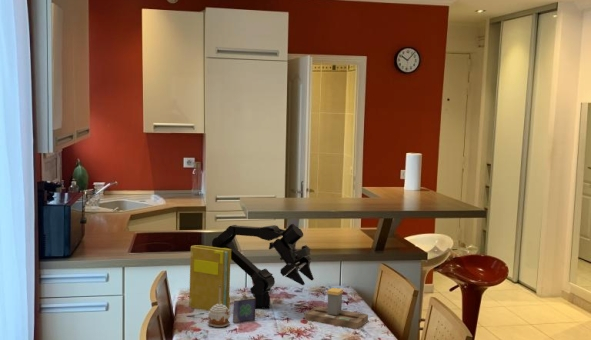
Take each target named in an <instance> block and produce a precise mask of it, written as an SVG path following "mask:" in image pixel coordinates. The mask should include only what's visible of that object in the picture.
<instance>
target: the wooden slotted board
mask: <svg viewBox="0 0 591 340" xmlns="http://www.w3.org/2000/svg"><path fill="white" fill-rule="evenodd" d="M327 308H328V307H325V306H319V305H317V306H315V307H313V308H312V309H310V310H308V311H307V312H305V313H304V320H305V321H310V322H315V323H321V324H326V325H332V326H337V327H342V328H343V327H344V328H347V329H354V330H359V329H360V328H361V327H362V326H364V325H365V324H366V323H367V322H368V321H369V314H365V313H361V312H354V311H348V310H344V309H343V310H342V309H341V313H339V315H332V314H327Z"/></svg>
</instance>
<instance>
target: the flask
mask: <svg viewBox="0 0 591 340" xmlns="http://www.w3.org/2000/svg"><path fill="white" fill-rule="evenodd" d="M255 305H256V298H255V297H253V296H250V295H249V296H247V295H246V293H242V296H241V297H240V298H235V299H233V307H232V308H233V312H232V313H233V315H232V316H233V317H232V323H234V324H241V323H247V322H254V321H255V319H256V309H255Z"/></svg>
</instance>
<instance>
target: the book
mask: <svg viewBox="0 0 591 340" xmlns="http://www.w3.org/2000/svg"><path fill="white" fill-rule="evenodd" d="M189 261H190V265H189V266H190V268H189V296H188V297H189V298H188V301H189V302H188V303H189V304H188V307H190V308H192V309H197V310H202V311H206V312H207V311H208V312H210V309H211V308H212V307H213V306H215V305H216V304H219V286H221V301H220V304H222V305H225V306H226V307H227V308H228V311H230V306H231V303H230V300H231V298H230V289H231V288H230V287H231V286H230V282H231V281H230V280H231V261H232V260H231V249H227V248H217V247H212V246H207V245H201V244H199V245H198V244H197V245H196V244H194V245H191V246H190V259H189Z"/></svg>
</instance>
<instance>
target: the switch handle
mask: <svg viewBox="0 0 591 340" xmlns="http://www.w3.org/2000/svg"><path fill="white" fill-rule="evenodd" d="M343 293H344V289H343V288H337V287H331V288H329V289H328V290H326V294H327V307H326V308H327V314H332V315H339V313H341V310H342V309H343V308H342V303H343Z"/></svg>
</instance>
